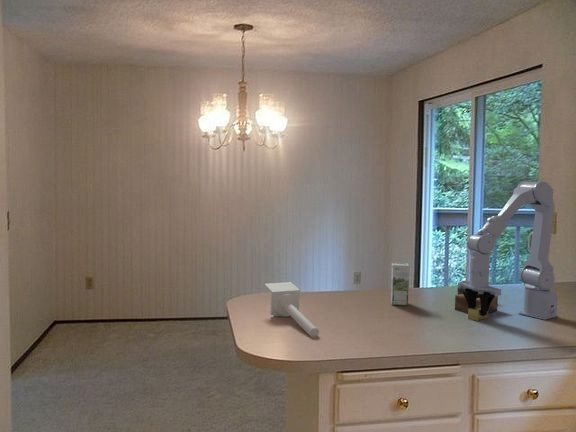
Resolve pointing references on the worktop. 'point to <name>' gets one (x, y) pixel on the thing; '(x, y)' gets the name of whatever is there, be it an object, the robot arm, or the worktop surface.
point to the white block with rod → (289, 305)
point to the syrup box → (399, 284)
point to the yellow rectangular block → (476, 313)
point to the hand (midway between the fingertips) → (477, 314)
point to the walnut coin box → (463, 306)
